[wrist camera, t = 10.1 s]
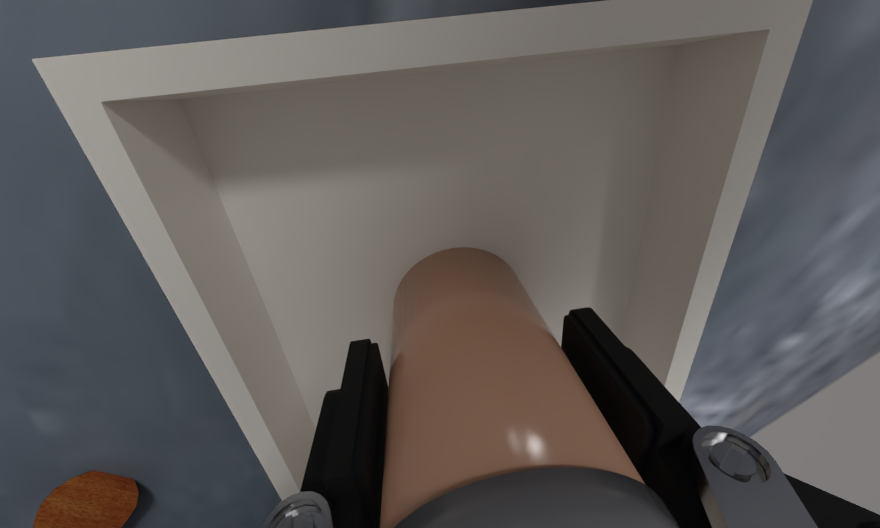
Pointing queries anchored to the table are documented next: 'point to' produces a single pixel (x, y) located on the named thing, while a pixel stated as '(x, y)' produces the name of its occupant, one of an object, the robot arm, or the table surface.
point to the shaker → (495, 413)
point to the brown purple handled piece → (89, 502)
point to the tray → (431, 178)
